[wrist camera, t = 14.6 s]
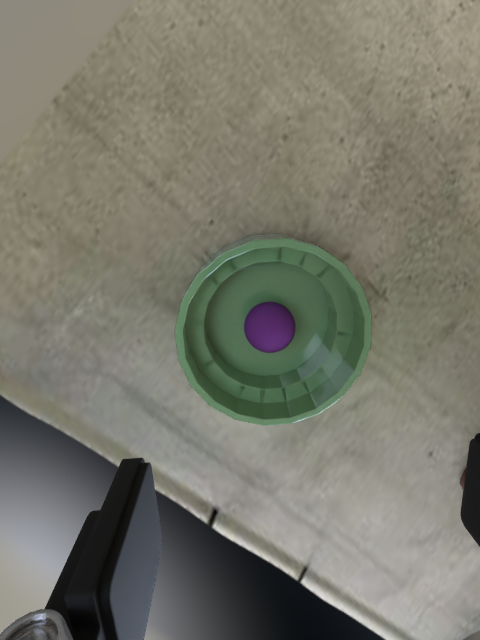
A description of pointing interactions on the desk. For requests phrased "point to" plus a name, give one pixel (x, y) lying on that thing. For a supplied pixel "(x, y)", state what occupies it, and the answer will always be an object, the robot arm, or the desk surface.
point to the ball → (269, 327)
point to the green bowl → (303, 351)
